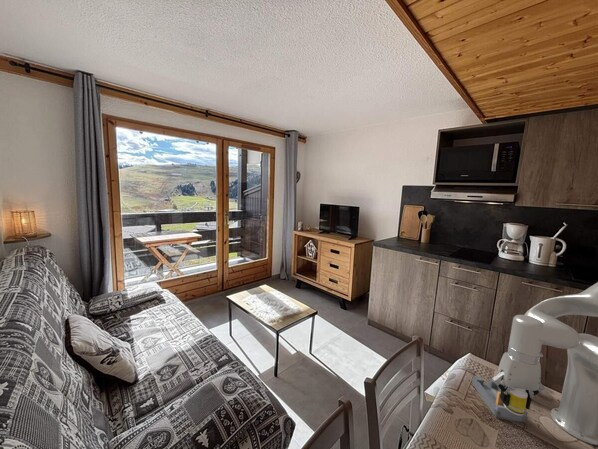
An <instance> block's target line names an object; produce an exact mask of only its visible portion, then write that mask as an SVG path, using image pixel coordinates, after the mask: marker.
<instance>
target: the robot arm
mask: <svg viewBox="0 0 598 449" xmlns="http://www.w3.org/2000/svg"><path fill="white" fill-rule="evenodd" d="M569 315H570V316H571V315H575V316H576V315H577V316H578V315H579V316H587V317H597V318H598V281H597V282H596V283H594V284H593V285H590V286H589V287H588V288H586V289H585V290H583V291H581V292H580V293H576V294H575V293H574V294H566V295H560V296H556V297H555V296H554V297H550V298H547V299H545V300H542V301H540V302H538V303H537V304H535V305H534V306H532V307H531V308H529V309H528V310H527V311H526V312H525V313H524V314H515V315H514V316H513V318H512V323H511V329H510V336H509V341H508V347H507V351H505V352H504V353H503V354H502V357H501V359H500V361H499V365H498V369H497V372H496V375H495V376H494V377H492V378H491V379H492V381H493V382H494V383H495V384H496V385H497V386H498V387H499V388H500V389H501V393H500V399H501V400H502V402H503V403H504V404H505V405H506V406H509V400H510V395H509V392H510V391H511V389H512V388H517V389H524V390H525V391H526V392H527V394H528V397H527V402H526V408H525V410H526V409H527V410H530V407H531V403H532V400H533V399H534V398H535V396H536V395H538V394H540V392H543V391H544V390H546V388H545V386H544V385H543V384H542V383H541V379H542V378H541V377H542V367H541V362H540V358H543V357H544V354H543V353H542V352H541V351H542V346H543V345H545V346H550V347H553V348H557V349H564V350H565V349H566V351H567V352H566V353H567V368H566V373H565V377H564V381H563V386H562V391H561V395H560V396H561V397H560V401H559V405H558V407H554V408H551V411H550V416H551V418H552V420H553V422H555V423H556V424H557V425H558V426H559V428H561V429H563V431H564V432H566V433H568V434H570V435H571V436H573V437H574V438H577V439H578V440H581V441H583V442H584V443H587V444H590V445H595V446H598V336H595V335H592V334H590V333H583V332H582V333H578V332H577V330H575V328H573V327H571V326H570V325H569V324H567V323H564V322H562V321H560V320H559V319H557V318H560V317H563V316H569ZM503 379H504V380H503ZM501 381H502V382H501ZM505 386H507V387H506V388H505Z"/></svg>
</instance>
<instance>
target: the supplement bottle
mask: <svg viewBox="0 0 598 449" xmlns="http://www.w3.org/2000/svg"><path fill="white" fill-rule="evenodd" d="M506 387H507V386H506ZM509 395H510V400H509V406H506V405H505V404H504V403H503V404H504V407H505V408H506V409H507V410H508V411H510V412H511V413H513V414H516V415H520V416H522V415H524V413H525V410H526V402H527V397H528V394H527V392H526V391H525V390H524V389H517V388H512V389H511V391H510V392H509Z"/></svg>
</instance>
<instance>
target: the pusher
mask: <svg viewBox="0 0 598 449" xmlns="http://www.w3.org/2000/svg"><path fill="white" fill-rule="evenodd" d="M491 393H492V395H493V396H494V397H495V399H496V405H500V406H504V404H503V402H502V400H501V399H500V393H501V392H499V391H498V392H496V391H495V390H493V389H491Z"/></svg>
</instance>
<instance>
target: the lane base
mask: <svg viewBox="0 0 598 449" xmlns="http://www.w3.org/2000/svg"><path fill="white" fill-rule="evenodd" d="M471 378H472V379H471V384H472V386H473V387H474V388H475V390H476V391H477V392H478V394H479V395H480V397H481V398H482V399H483V401H484V402H485V404H486V405H487V407H488V409H489V410H490V411H491V413H492V414H493V415H494V417H495V418H497V419H502V420H508V421H513V422H518V423H524V424H526V423H527V416H528V410H526V409H525V413H524V415H522V416H520V415H516V414H513V413H511V412H510V411H508V410H507V409H506V408H505V407H504V406H500V405H496V399H495V397H494V396H493V395H492V393H491V389H493V390H495V391H496V392H498V391H499V392H501V389H500V388H499V387H498V386H497V385H496V384H495V383H494V382H493V381H492V378H490V377H489V378H488V382H487V383H485V381H484V380H485V379H483V377H482V376H477V375H474V376H473V377H471Z"/></svg>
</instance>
